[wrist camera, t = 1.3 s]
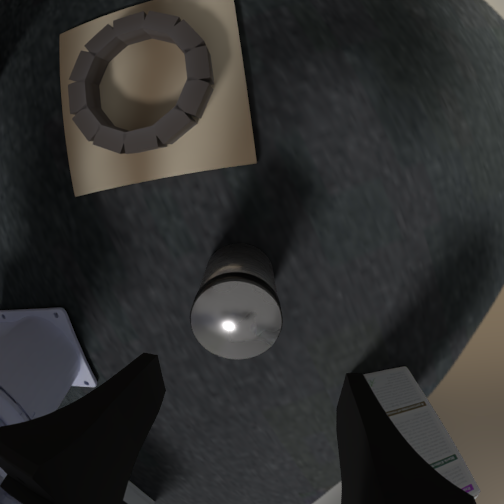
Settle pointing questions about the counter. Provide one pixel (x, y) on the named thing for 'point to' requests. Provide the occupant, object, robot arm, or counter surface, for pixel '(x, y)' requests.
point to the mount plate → (154, 94)
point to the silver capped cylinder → (237, 303)
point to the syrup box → (420, 425)
